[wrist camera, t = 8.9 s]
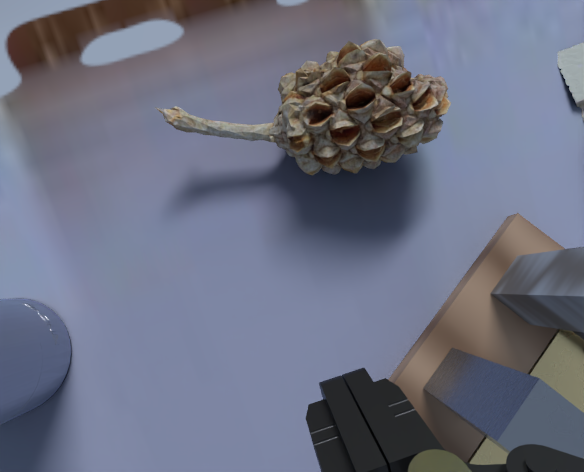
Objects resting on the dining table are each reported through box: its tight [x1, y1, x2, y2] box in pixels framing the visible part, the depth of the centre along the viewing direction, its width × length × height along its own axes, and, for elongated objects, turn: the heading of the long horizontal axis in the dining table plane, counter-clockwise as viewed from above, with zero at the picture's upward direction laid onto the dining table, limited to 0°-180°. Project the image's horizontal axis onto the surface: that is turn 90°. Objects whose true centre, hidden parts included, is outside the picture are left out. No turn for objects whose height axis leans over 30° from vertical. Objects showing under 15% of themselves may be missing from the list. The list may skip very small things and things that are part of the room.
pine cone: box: [156, 39, 451, 175], centre depth 30 cm, size 22×10×10 cm, turn 98°
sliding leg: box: [423, 348, 584, 458], centre depth 26 cm, size 4×10×11 cm, turn 51°
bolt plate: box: [467, 329, 584, 465], centre depth 32 cm, size 26×7×1 cm, turn 141°
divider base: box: [389, 213, 584, 463], centre depth 27 cm, size 26×12×12 cm, turn 141°
